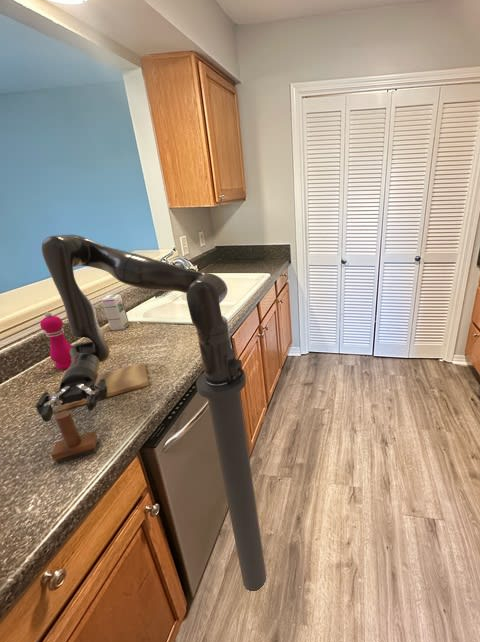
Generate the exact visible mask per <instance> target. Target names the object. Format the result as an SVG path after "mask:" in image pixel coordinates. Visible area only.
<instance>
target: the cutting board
mask: <svg viewBox="0 0 480 642" xmlns="http://www.w3.org/2000/svg"><path fill="white" fill-rule="evenodd" d="M102 379H105V381H106V384H107V397H106V398H110V397H113V396H116V395H119V394H123V393H127V392H130V391H133V390H137V389H140V388H144V387H147V386H150V383H149V378H148V374H147V369H146V364H145V362H141V363H138V364H133V365H129V366H125V367H122V368H121V367H120V368H118V369H114V370H110V371H106V372H101V373H98V377H97V379H96V383H95V384H97V383H99V382H100V380H102ZM98 391H99V390H98V389H95V392H98ZM100 400H102V399H101V398H100V399H98V401H100ZM60 403H62V401H60ZM86 403H87V400H84V399H82V400H80V401H75V402H72V403H68V404H67V405H65V406H64V407H63V408H61V409H57V410H55V411H54V412H55V413H60V412H62V411H66V410H67V409H68V410H69V409H72V408H75V407H79V406H82V405H86Z"/></svg>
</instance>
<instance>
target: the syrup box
mask: <svg viewBox="0 0 480 642" xmlns="http://www.w3.org/2000/svg"><path fill="white" fill-rule="evenodd" d="M101 303H102V306H103V310H104V312H105V315H106V319H107V321H108V324H109V328H110V330H111V331H119V330H125V329H126V328H127V327H128V326H129V325H130V321H129V318H128V315H127V311H126V308H125V305H124V302H123V298H122V295H121V294H118V293H115V294H107V295H106V296H105V297H104V298H102V299H101Z"/></svg>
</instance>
